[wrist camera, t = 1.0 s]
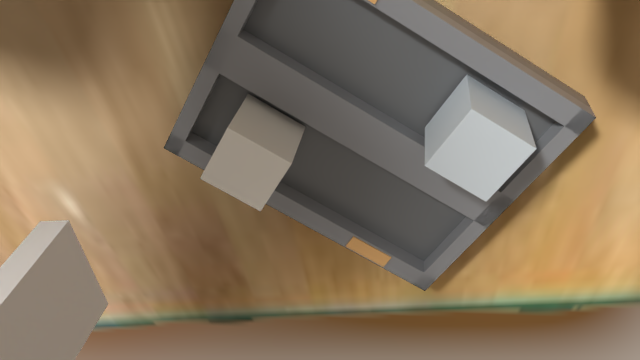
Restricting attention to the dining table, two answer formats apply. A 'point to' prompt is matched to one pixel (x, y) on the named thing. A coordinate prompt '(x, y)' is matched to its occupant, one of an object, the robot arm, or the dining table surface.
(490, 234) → the dining table surface
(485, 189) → the pale grey cube
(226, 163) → the off-white cube
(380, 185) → the gray divided tray
